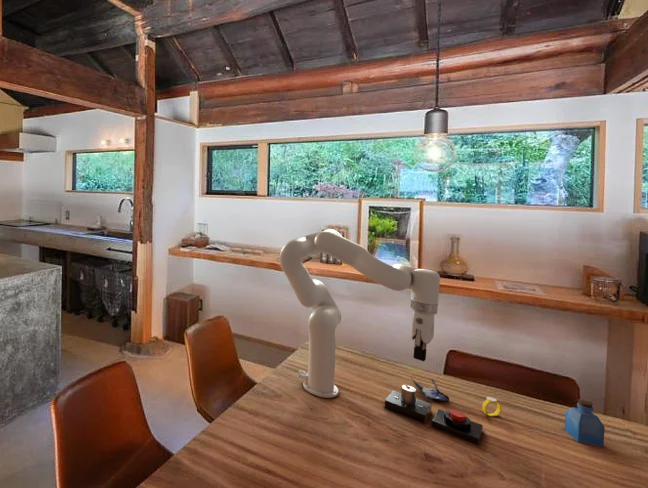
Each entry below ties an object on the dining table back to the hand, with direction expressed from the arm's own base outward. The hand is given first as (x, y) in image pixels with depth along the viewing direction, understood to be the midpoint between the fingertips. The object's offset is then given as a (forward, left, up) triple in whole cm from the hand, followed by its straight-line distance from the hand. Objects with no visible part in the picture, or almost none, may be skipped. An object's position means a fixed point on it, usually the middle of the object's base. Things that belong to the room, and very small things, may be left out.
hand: (419, 359), depth 133 cm
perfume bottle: (+39, +31, -22) cm, 55 cm away
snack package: (-1, +23, -22) cm, 32 cm away
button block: (+10, +5, -22) cm, 25 cm away
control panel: (-4, +5, -22) cm, 23 cm away
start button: (+10, +5, -18) cm, 22 cm away
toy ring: (+17, +24, -22) cm, 37 cm away
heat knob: (-4, +5, -19) cm, 20 cm away
